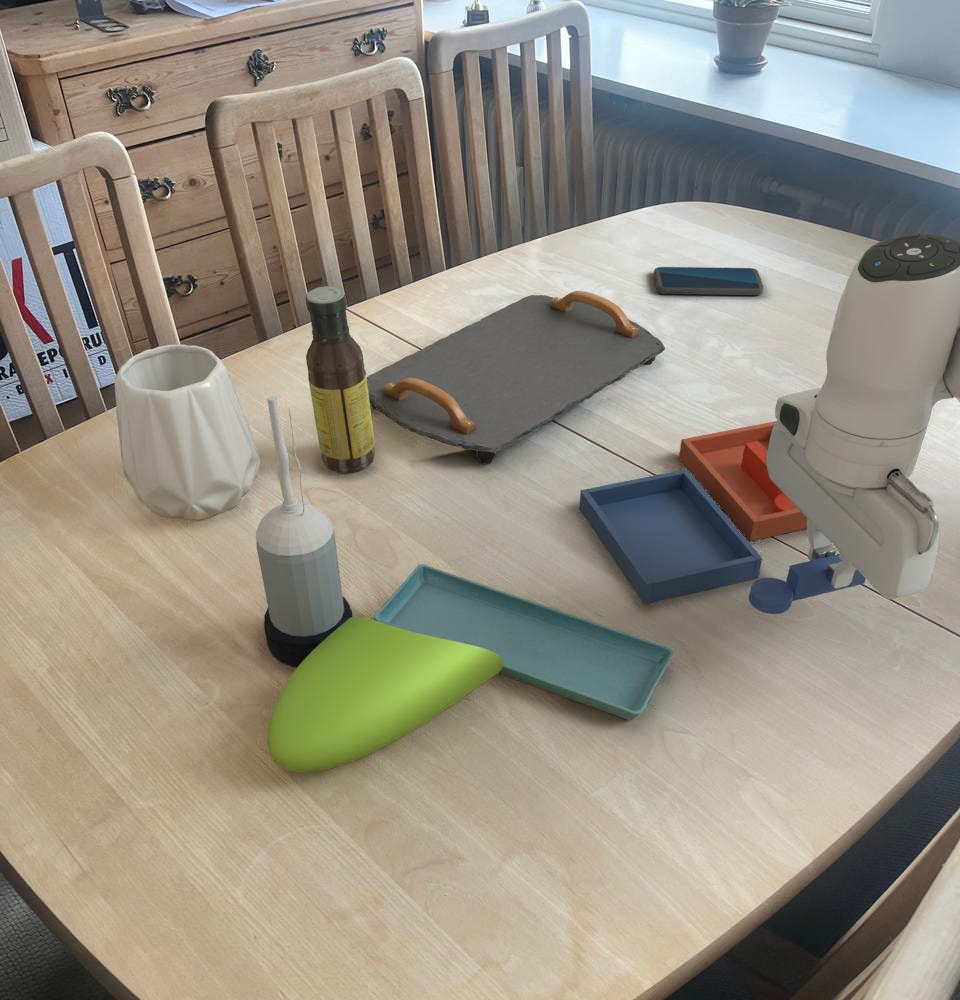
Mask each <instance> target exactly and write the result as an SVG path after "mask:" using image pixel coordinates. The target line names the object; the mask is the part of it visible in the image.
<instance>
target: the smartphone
mask: <svg viewBox="0 0 960 1000" xmlns="http://www.w3.org/2000/svg"><path fill="white" fill-rule="evenodd" d="M653 277H654V282H655V288H656V292H657V293H659V294H661V295H707V296H708V295H710V296H712V295H713V296H717V295H718V296H720V295H721V296H760V295H762V294H763V292H764V291H763V290H764V284H763V282H762V279H761V276H760V272H759V270H758V269H756V268H753V267H709V266H708V267H705V266H704V267H702V266H700V267H699V266H698V267H697V266H658V267H656V268H654V270H653Z"/></svg>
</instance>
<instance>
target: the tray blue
mask: <svg viewBox="0 0 960 1000" xmlns="http://www.w3.org/2000/svg"><path fill="white" fill-rule="evenodd" d="M579 492H580V493H579V507H578V509H579V511H580V513H581V514H582V516H583V518H585V521H586V522H587V523H588V525H589V526H590V527H591V529H592V530H593V532H594V533H595V535H596V536H597V538H598V540H599V541H600V543H602V545H603V546H604V548H605V549H606V551H607V552H608V554H609V555H610V557H611V558H612V560H613V561H614V563H615V564H616V565H617V567H618V569H619V570H620V572H621V573H622V574H623V576H624V577H625V579H626V580H627V582H628V584H630V586H631V587H632V589H633V590H634V592H635V593H636V595H637V597H638V598H639V599H640V601H641V602H642V603H643V605H647V604H651V603H655V602H660V601H665V600H669V599H673V598H676V597H681V596H686V595H691V594H694V593H698V592H703V591H708V590H712V589H714V588H716V589H717V588H720V587H725V586H729V585H733V584H738V583H742V582H747V581H750V580H754V579H758V578H759V576H760V572H761V567H762V563H763V556H761V555H760V553H759V552H758V551H757V550H756V549H755V548H754V546H753V545H752V544H751V543H750V541H749V540H748V538H747V537H746V536H745V535H744V534H743V533H742V531H741V530H740V529H739V528H738V527H737V526H736V524H735V523H734V522H733V521H732V520H731V518H730V517H729V516H728V515H727V514H726V513H725V511H724V510H723V509H722V508H721V507H720V506H719V504H718V503H717V502H716V501H715V500H714V499H713V497H712V496H711V495H710V494H709V493H708V492H707V490H706V489H705V488H704V487H703V486H702V485H701V483H700V482H699V481H698V480H697V479H696V477H695V476H694V475H693V474H692V473H691V472H690V470H689V469H688V468H684V469H679V470H675V471H670V472H669V471H668V472H664V473H659V474H655V475H649V476H645V477H639V478H635V479H629V480H625V481H620V482H615V483H610V484H604V485H600V486H595V487H590V488H585V489H580V491H579Z"/></svg>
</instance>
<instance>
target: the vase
mask: <svg viewBox="0 0 960 1000" xmlns="http://www.w3.org/2000/svg"><path fill="white" fill-rule="evenodd" d="M237 393H238V392H237V391H236V388H235V385H234V383H233V380H232V378H231V375H230V373H229V371H228V368H227V367H226V365H225V363H224V362H223V361H222V359H220V358H219V356H217V355H216V354H215V353H214V351H213V350H211V349H208V348H206V347H202V346H199V345H192V344H191V345H187V344H185V343H182V344H166V345H160V346H157V347H154V348H152V349H151V348H150V349H149V348H147V349H146V350H143V351H141V352H139V353H137V354H135V355H133V356H131V357H130V358H128V359H127V360H126V362H125V363H124V364H122V365H121V366H120V368H119V369H118V372H117V373H116V376H115V378H114V396H115V407H116V408H115V409H116V410H115V411H116V419H117V421H116V422H117V429H118V431H117V432H118V439H119V448H120V456H121V464H122V470H123V475H124V478H125V480H126V482H127V483H128V484H129V485H130V486H131V488H132V490H133V492H134V494H135V496H136V497H137V500H138V501H139V502H141V503H142V504H143V505H144V507H146V508H147V509H148V510H149V511H150V512H152V513H153V515H156V516H158V517H161V518H162V517H163V518H167V519H168V518H169V519H177V520H184V521H192V522H193V521H194V522H200V521H203V520H206V519H209V518H212V517H214V516H217V515H220V514H223V513H225V512H228V511H231V510H233V509H235V508H237V507H238V506H239V505H240V503H241V500H242V498H243V497H244V496H246V494H248V493H249V491H250V490H251V489H252V487H253V484H254V481H255V479H256V478H257V474H258V471H259V468H260V462H261V460H260V457H259V453H258V450H257V447H256V443H255V440H254V436H253V433H252V430H251V428H250V425H249V422H248V420H247V418H246V415H245V412H244V409H243V407H242V404H241V402H240V398H239V396H238V394H237Z"/></svg>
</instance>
